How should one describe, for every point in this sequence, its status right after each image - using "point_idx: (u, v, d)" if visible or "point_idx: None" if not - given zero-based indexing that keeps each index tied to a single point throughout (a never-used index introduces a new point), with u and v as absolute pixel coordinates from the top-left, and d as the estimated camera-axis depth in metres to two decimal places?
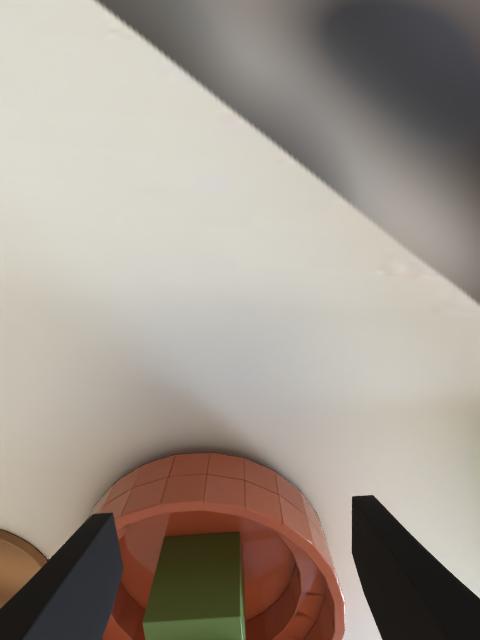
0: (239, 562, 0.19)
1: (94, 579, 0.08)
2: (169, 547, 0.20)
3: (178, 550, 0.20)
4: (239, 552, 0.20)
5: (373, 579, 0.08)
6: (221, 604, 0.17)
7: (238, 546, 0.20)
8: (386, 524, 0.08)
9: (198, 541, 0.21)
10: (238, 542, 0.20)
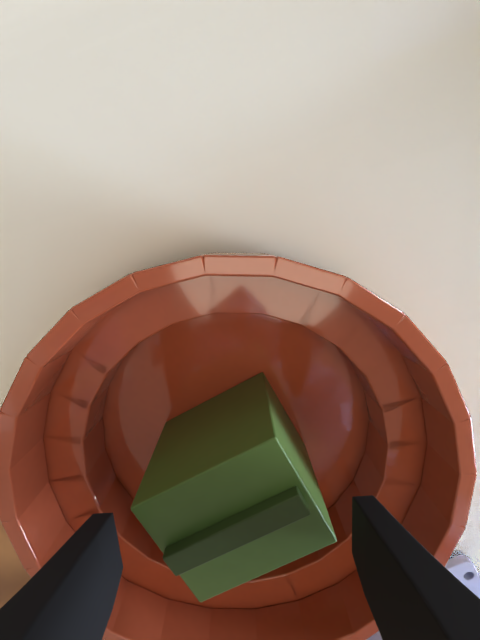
0: (266, 393, 0.12)
1: (94, 578, 0.08)
2: (171, 426, 0.14)
3: (183, 422, 0.13)
4: (265, 386, 0.13)
5: (373, 579, 0.08)
6: (244, 439, 0.10)
7: (262, 382, 0.13)
8: (386, 524, 0.08)
9: (208, 404, 0.14)
10: (262, 379, 0.13)
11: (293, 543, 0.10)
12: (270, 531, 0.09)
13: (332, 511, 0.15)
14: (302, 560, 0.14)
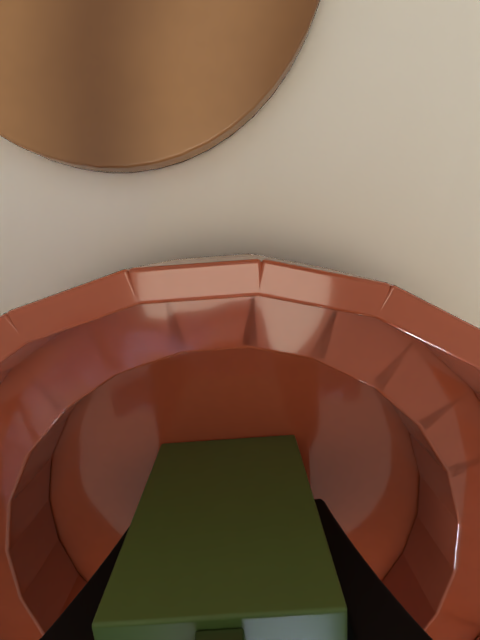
0: None
1: None
2: None
3: None
4: None
5: None
6: None
7: None
8: (326, 528, 0.08)
9: None
10: None
11: None
12: None
13: (71, 577, 0.11)
14: (22, 565, 0.09)
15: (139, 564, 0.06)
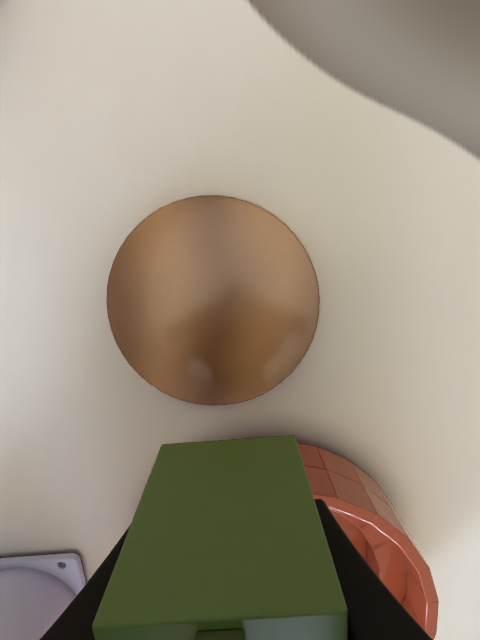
0: None
1: None
2: None
3: None
4: None
5: None
6: None
7: None
8: (326, 528, 0.08)
9: None
10: None
11: None
12: None
13: None
14: None
15: (139, 565, 0.06)
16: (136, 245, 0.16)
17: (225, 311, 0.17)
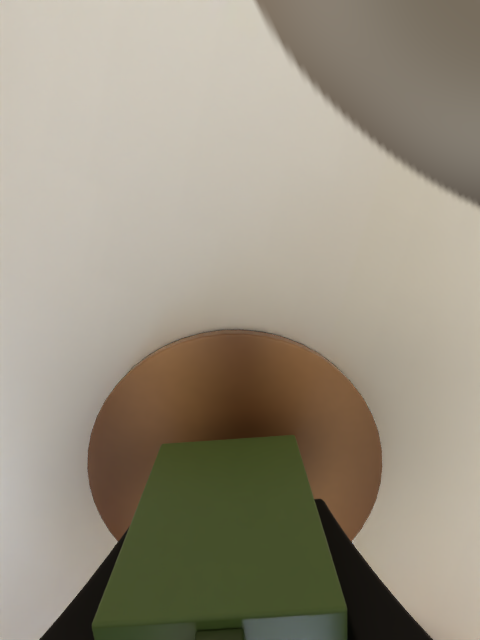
0: None
1: None
2: None
3: None
4: None
5: None
6: None
7: None
8: (326, 528, 0.08)
9: None
10: None
11: None
12: None
13: None
14: None
15: (139, 564, 0.06)
16: (128, 397, 0.11)
17: None
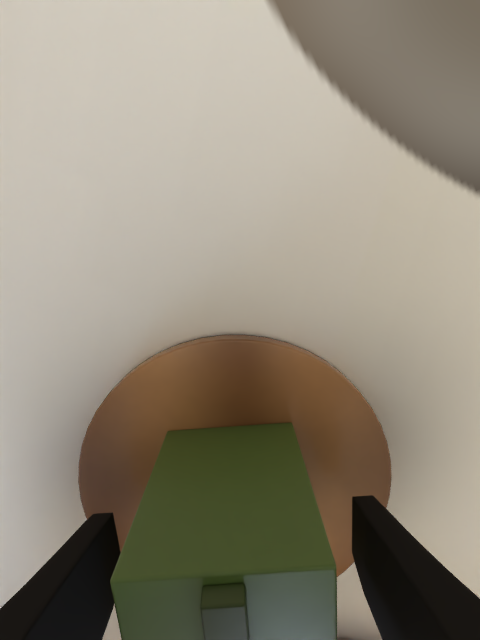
0: None
1: (95, 578, 0.08)
2: None
3: None
4: None
5: (373, 579, 0.08)
6: None
7: None
8: (386, 524, 0.08)
9: None
10: None
11: None
12: None
13: None
14: None
15: (150, 532, 0.07)
16: (122, 406, 0.11)
17: None
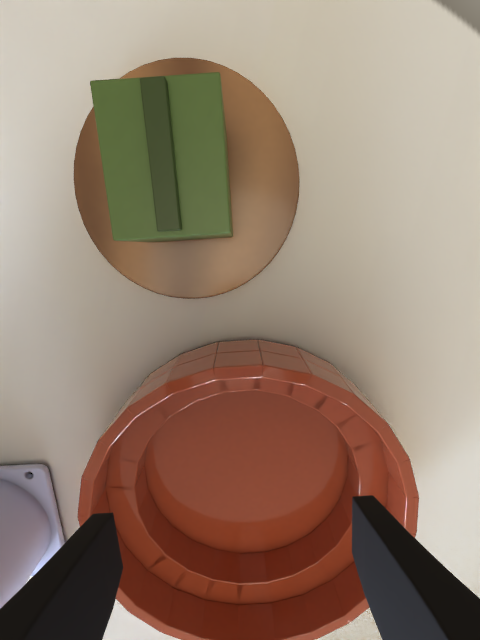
0: (231, 234, 0.14)
1: (95, 578, 0.08)
2: None
3: None
4: (231, 235, 0.15)
5: (373, 579, 0.08)
6: (229, 205, 0.12)
7: (232, 234, 0.15)
8: (386, 524, 0.08)
9: None
10: (232, 234, 0.15)
11: (126, 202, 0.11)
12: (154, 190, 0.11)
13: (155, 509, 0.19)
14: (138, 496, 0.18)
15: None
16: None
17: None
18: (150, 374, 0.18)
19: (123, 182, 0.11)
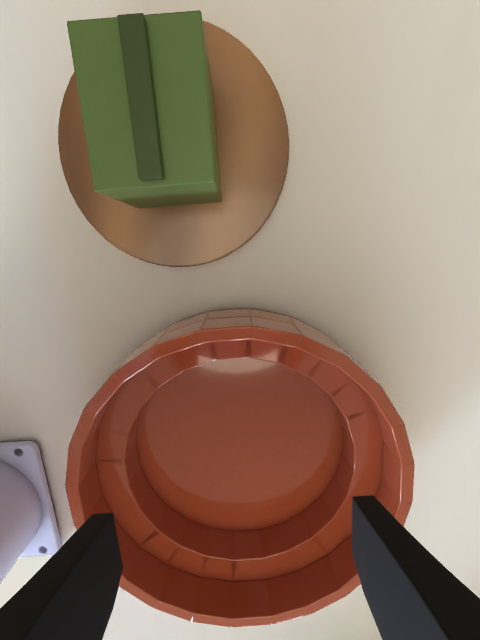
0: (218, 194, 0.14)
1: (95, 578, 0.08)
2: (212, 92, 0.14)
3: (213, 105, 0.14)
4: (219, 196, 0.14)
5: (373, 579, 0.08)
6: (214, 155, 0.11)
7: (220, 196, 0.15)
8: (386, 524, 0.08)
9: (216, 139, 0.15)
10: (221, 197, 0.15)
11: (106, 151, 0.11)
12: (135, 136, 0.10)
13: (147, 486, 0.19)
14: (129, 471, 0.17)
15: None
16: None
17: None
18: (140, 345, 0.17)
19: (103, 129, 0.11)
